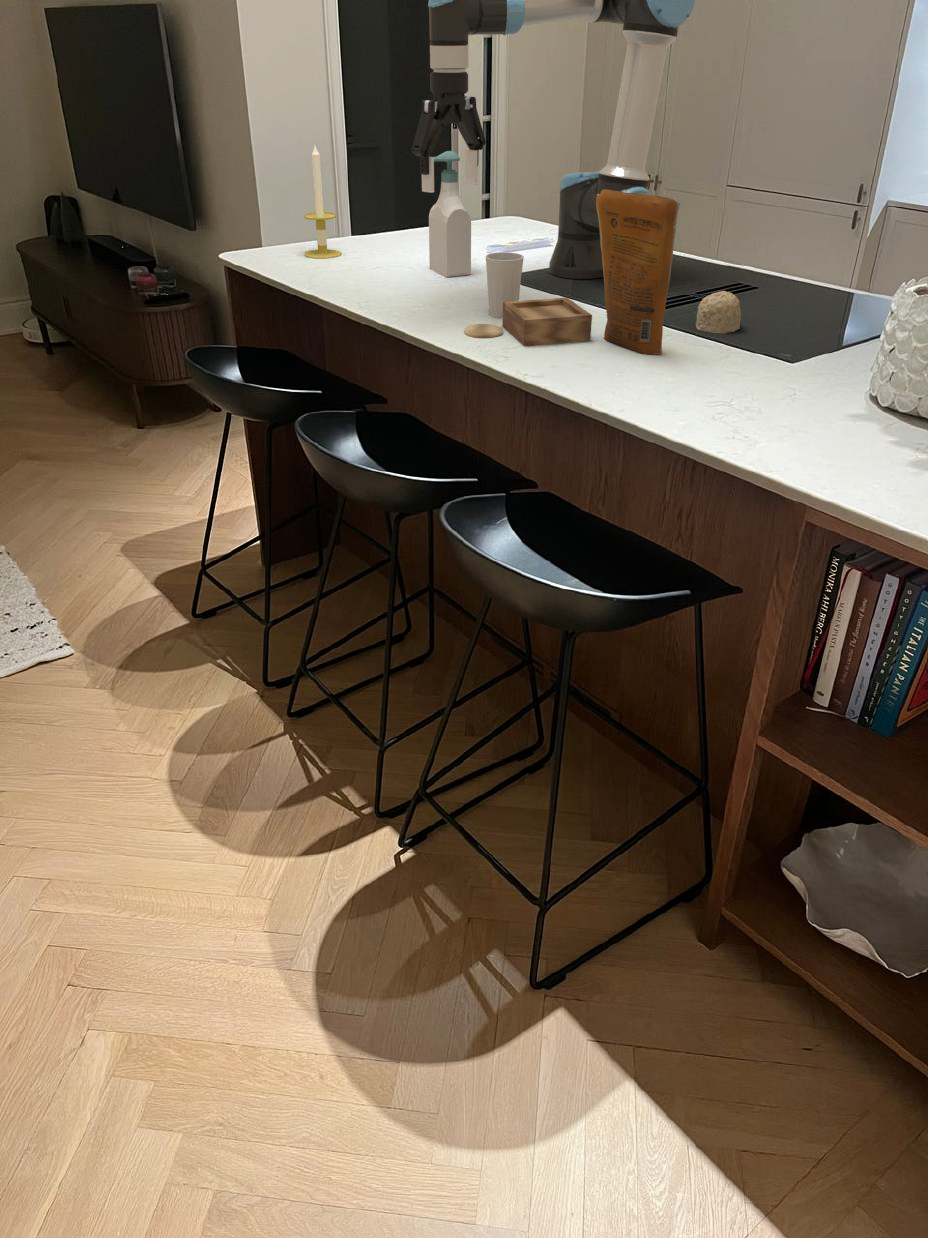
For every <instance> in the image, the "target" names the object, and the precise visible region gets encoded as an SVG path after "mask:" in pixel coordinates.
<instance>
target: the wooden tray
mask: <svg viewBox="0 0 928 1238" xmlns="http://www.w3.org/2000/svg"><path fill="white" fill-rule="evenodd" d="M592 320H593V314H592V313H590V312H588V311H587V310H586V309H584V308H583V307H581V306H580V305H578V304H576V303H575V302H574V301H573V300H571V299H570V298H569V297H557V298H556V297H554V298H542V299H528V300H527V299H525V300H519V301H510V302H503V318H502V323H501V324H502V326H501V327H502V328H503V329H504V330H505V331H507V333H509V334H510V335H511V336H512V337H514V339H516V340H517V341H518V342H519V343H520V345H522V346H523V347H524V346H526V347H528V346H539V345H551V344H564V343H575V342H577V343H578V342H588V341H591V336H592V322H593V321H592Z"/></svg>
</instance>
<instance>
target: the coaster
mask: <svg viewBox="0 0 928 1238" xmlns="http://www.w3.org/2000/svg"><path fill="white" fill-rule="evenodd" d="M463 334H464V335H466V336H468V337H471V338H475V339H477V338H479V339H491V338H497V337H499V336H501V335H503V334H504V328H503V327H502V326H499V325H497V324H491V323H476V324H469V325H466V326H465V327H464V328H463Z"/></svg>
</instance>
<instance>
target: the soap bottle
mask: <svg viewBox="0 0 928 1238" xmlns="http://www.w3.org/2000/svg"><path fill="white" fill-rule="evenodd" d="M433 157H434V162H446V169H443V170H442V172H441V174H440V175H441V181H440V183H441V184H440V192H439V195H438V198H437V201H436V203H434V204H433V205H432V207H431V208H430V210H429V215H428V240H429V241H428V242H429V243H428V246H429V249H428V251H429V253H428V254H429V269H430V268H431V269H430V270H432V269H433V270H432V271H434V272H435V271H436V272H435V273H437V272H438V273H437V274H439V273H440V274H439V275H441V276H443V277H445V278H453V277H462V276H470V275H471V274H472V219H471V216H470V215H469V213H468V212H467V210H466V209H465V206H464V204H463V201H462V199H461V196H460V192H459V191H460V190H459V182H458V179H459V178H458V171H456V169H453V162H459V161H461V157H460V156H459V155H458V154H457V153H456V152H455V151H452V150H447V151H444V152H442V153H440V154H439V155H437V156H433Z"/></svg>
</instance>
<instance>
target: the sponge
mask: <svg viewBox="0 0 928 1238" xmlns="http://www.w3.org/2000/svg"><path fill="white" fill-rule="evenodd" d="M696 313H697V314H696V322H695V327H696V329H697V330H699V331H702V332H706V333H712V334H727V333H734V332H737V330H739V329H741V327H740V326H741V324H740V323H741V317H742V313H741V306H740V300H739V299H738V297H737V296H736V295H735V294H733V293H732V292H730V291H726V290H721V291H717V292H713V293H711V294H708V295H707V296H705V297H704V298H702V300H701V301H699V304H698V307H697V312H696Z"/></svg>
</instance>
